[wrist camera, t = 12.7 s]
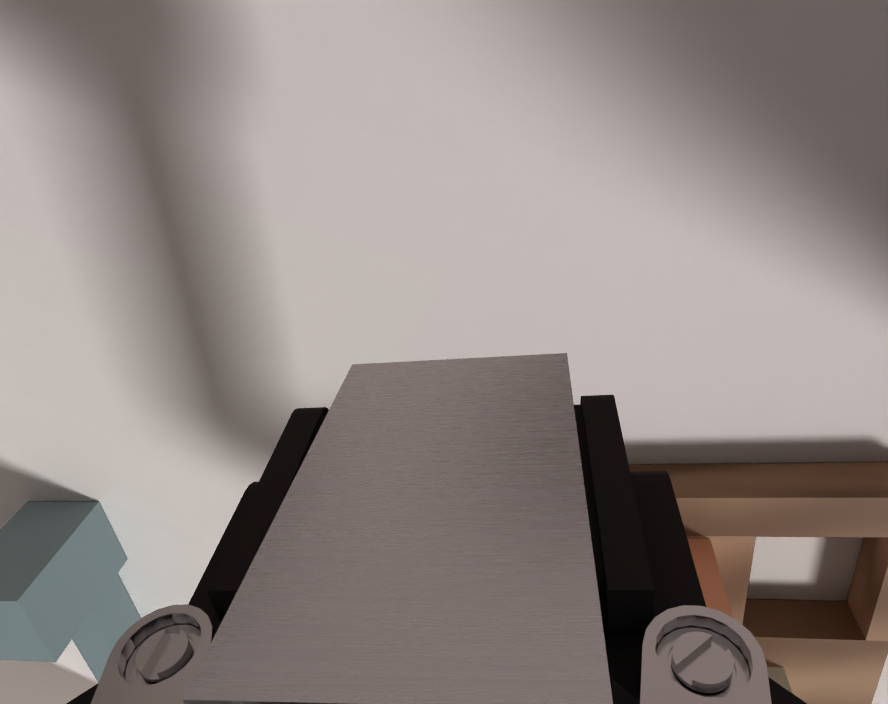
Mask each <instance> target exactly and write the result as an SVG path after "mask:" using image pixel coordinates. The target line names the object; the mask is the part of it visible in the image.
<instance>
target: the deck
mask: <svg viewBox="0 0 888 704" xmlns="http://www.w3.org/2000/svg"><path fill="white" fill-rule="evenodd" d="M629 470H630V472H637V471H667V473H668V474H669V477H670V480H671V483H672V486H673V490H674V493H675V497H676V501H677V504H678V508H679V511H680V515H681V518H682V522H683V525H684V529H685V533H686V536H687V539H710V540H711V543H712V547H713V550H714V554H715V557H716V561H717V564H718V567H719V571H720V574H721V578H722V581H723V585H724V588H725V592H726V595H727V599H728V602H729V605H730V609H731V612H732V616H733V618H734V619H736V620H737V621H738V622H740V623H741V624H742V625H743V626H744V627H745V628H746V629H748V630H749V631H750V632H751V633H752V635H753V636H754V638H755V639H756V640H757V642H758V643H759V645H760V646H761V648H762V651H763V654H764V657H765V661H766V664H767V667H784V670H785V673H786V676H787V679H788V682H789V684H790V687H791V690H792V693H793V694H794V695H795V696H797V697H798V698H800V699H801V700H803V701H804V702H805V703H807V704H871V703H872V700H873V697H874V694H875V691H876V688H877V685H878V682H879V679H880V676H881V672H882V669H883V666H884V663H885V660H886V657H887V654H888V462H858V463H759V464H661V465H629ZM756 536H760V537H864V540H863V544H862V547H861V551H860V555H859V559H858V563H857V566H856V570H855V574H854V578H853V581H852V585H851V589H850V593H849V597H848V600H847V601H804V600H760V599H746V598H747V591H748V585H749V578H750V572H751V565H752V559H753V552H754V546H755V539H756Z"/></svg>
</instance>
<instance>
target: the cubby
mask: <svg viewBox="0 0 888 704" xmlns="http://www.w3.org/2000/svg"><path fill="white" fill-rule="evenodd" d="M767 671H768V677H769V678H771V679H772V680H774V681H775V682H777V683H778V684H779V685H781V686H782V687H784V688H785V689H787V690H788V691H790V692H791V693H792V690H791V687H790V684H789V682H788V679H787V676H786V673H785V670H784V667H767ZM792 694H793V693H792Z"/></svg>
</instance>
